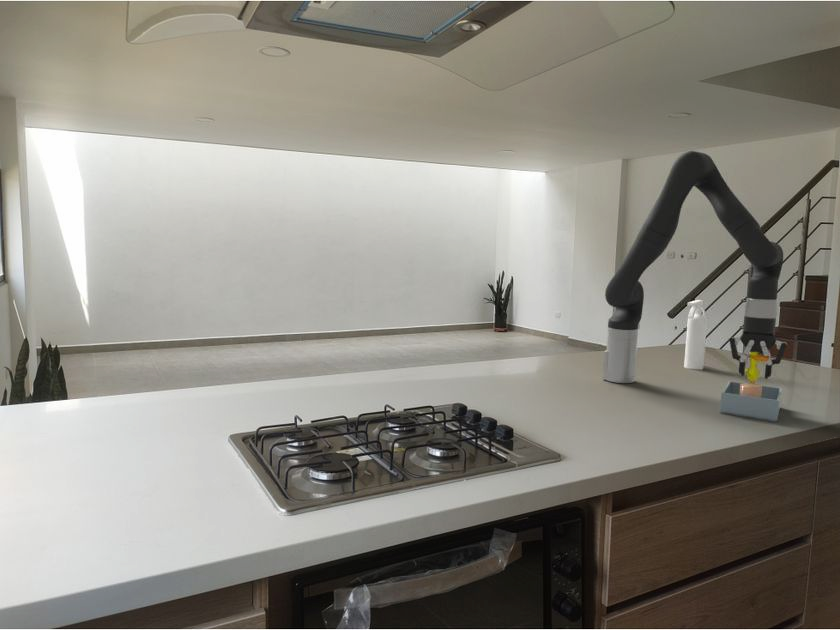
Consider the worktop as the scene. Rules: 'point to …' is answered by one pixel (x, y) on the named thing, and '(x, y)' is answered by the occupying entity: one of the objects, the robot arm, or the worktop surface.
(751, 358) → the toy figure
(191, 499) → the worktop surface
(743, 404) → the tote
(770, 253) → the robot arm
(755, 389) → the brown egg
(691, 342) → the white spray bottle
